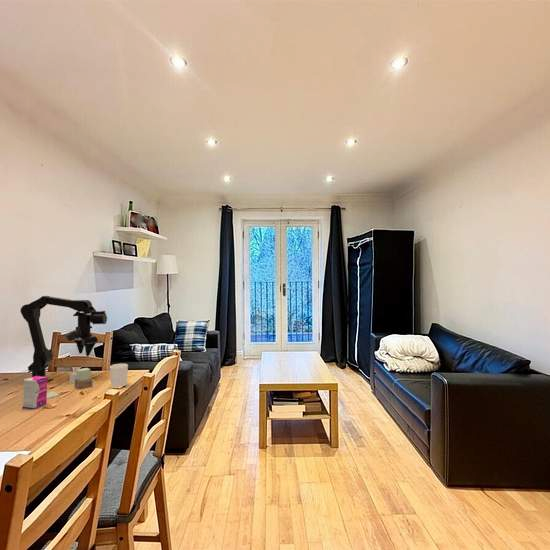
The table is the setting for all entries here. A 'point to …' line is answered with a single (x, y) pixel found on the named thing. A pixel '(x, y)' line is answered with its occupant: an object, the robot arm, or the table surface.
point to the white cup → (118, 375)
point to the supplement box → (34, 392)
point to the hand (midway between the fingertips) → (84, 354)
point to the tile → (52, 395)
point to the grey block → (73, 377)
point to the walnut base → (83, 383)
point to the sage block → (83, 374)
